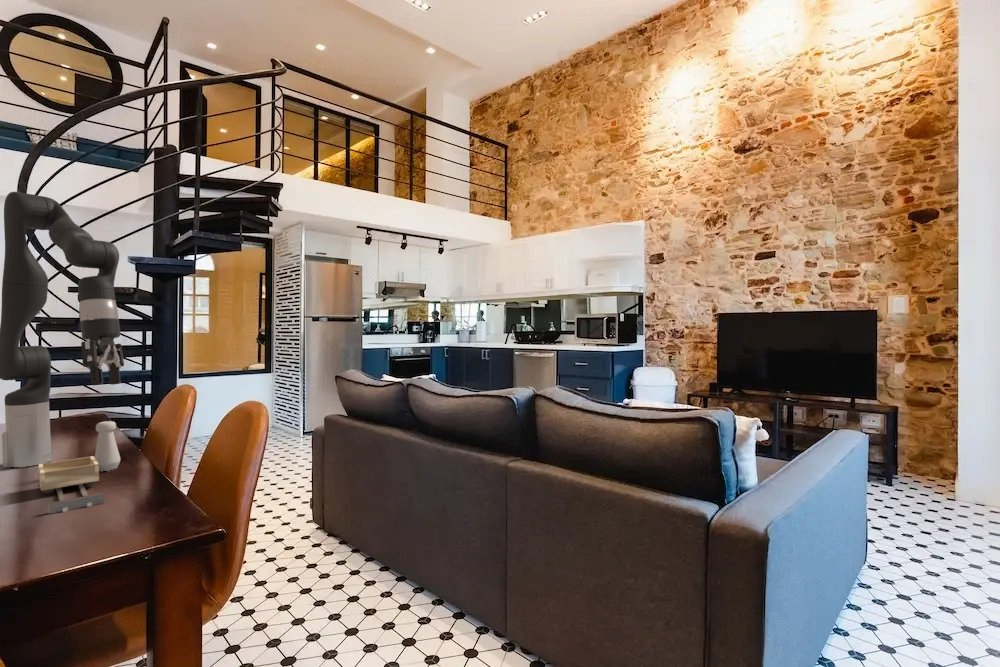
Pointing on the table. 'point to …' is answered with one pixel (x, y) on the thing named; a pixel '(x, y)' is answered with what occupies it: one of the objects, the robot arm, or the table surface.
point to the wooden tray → (68, 473)
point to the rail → (75, 501)
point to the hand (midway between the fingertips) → (106, 384)
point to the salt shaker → (106, 447)
